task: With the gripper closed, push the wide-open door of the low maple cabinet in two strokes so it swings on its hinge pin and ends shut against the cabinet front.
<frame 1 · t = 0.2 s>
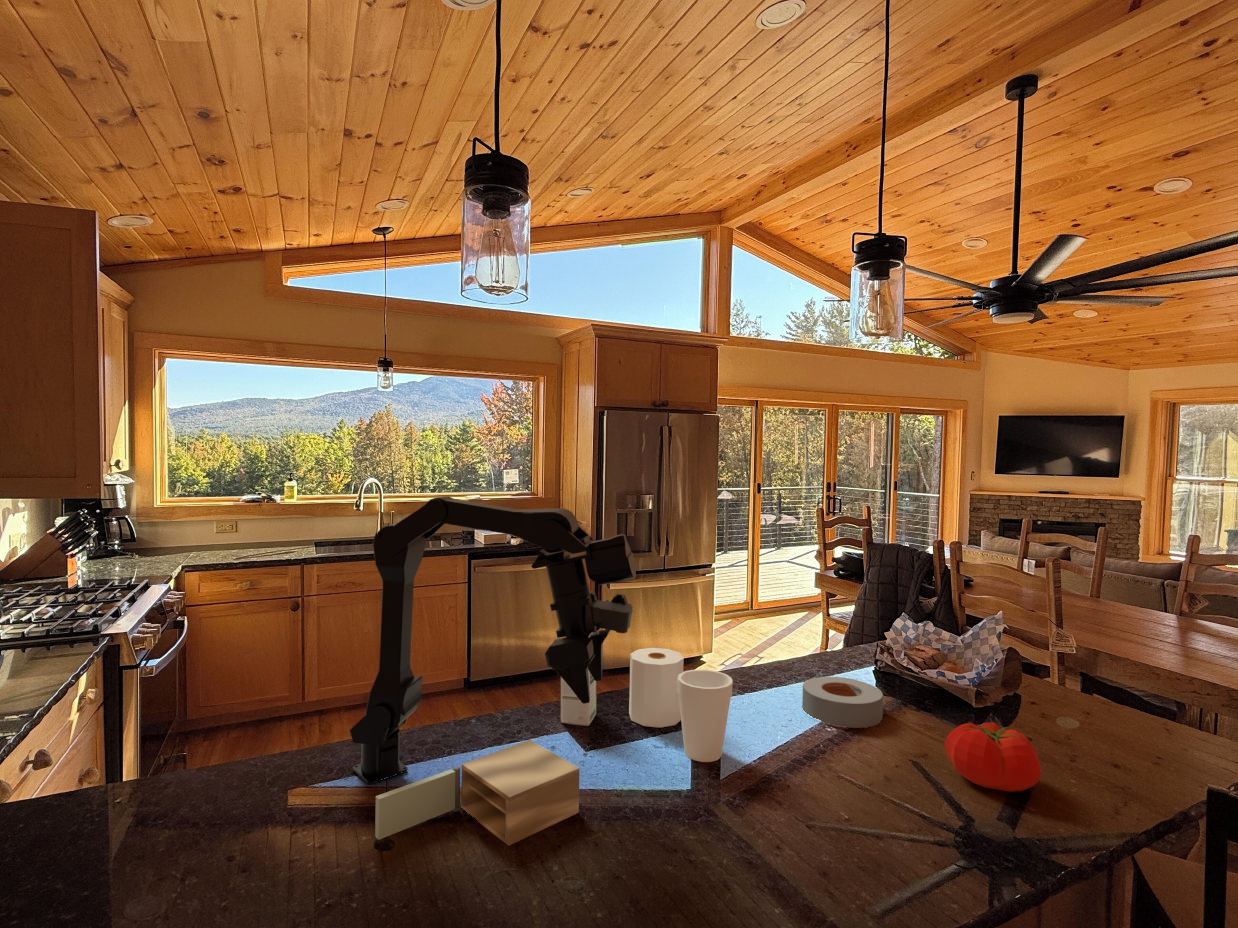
hand: (592, 691, 102), 15 cm above the kitchen island countertop, tool pointing down, fingers open, 9 cm apart
door: (420, 801, 93), point 3 cm above the kitchen island countertop, hinge at -90.0°
foam cup: (703, 754, 116), on the kitchen island countertop
tape roll: (841, 714, 135), on the kitchen island countertop
syrup box: (578, 719, 129), on the kitchen island countertop
toilet paper: (655, 717, 131), on the kitchen island countertop
cabinet: (519, 810, 97), on the kitchen island countertop
tomato: (992, 782, 108), on the kitchen island countertop
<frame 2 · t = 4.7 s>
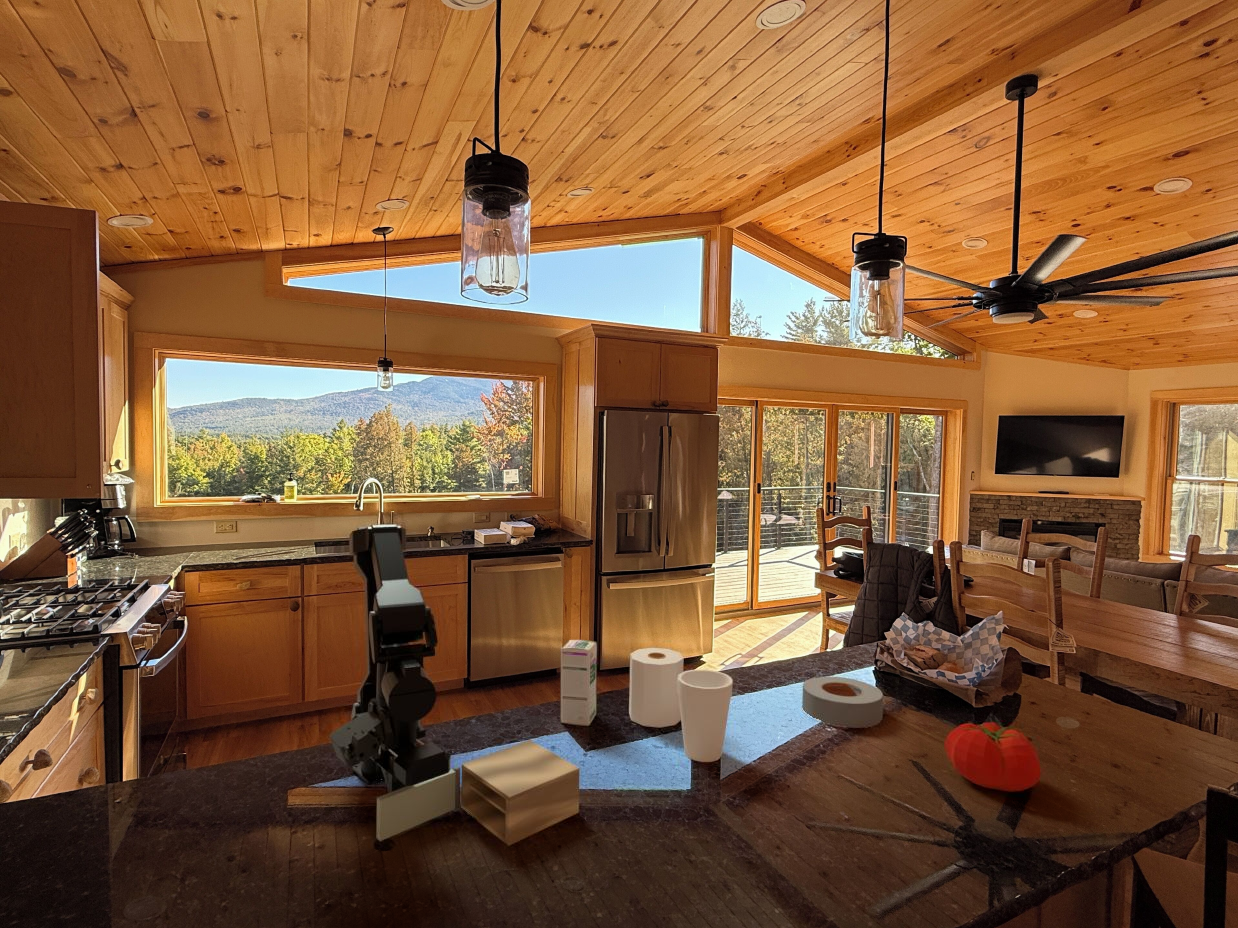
hand: (395, 804, 92), 3 cm above the kitchen island countertop, tool pointing down, fingers closed
door: (420, 801, 92), point 3 cm above the kitchen island countertop, hinge at -87.9°, touching gripper
everything else where it was.
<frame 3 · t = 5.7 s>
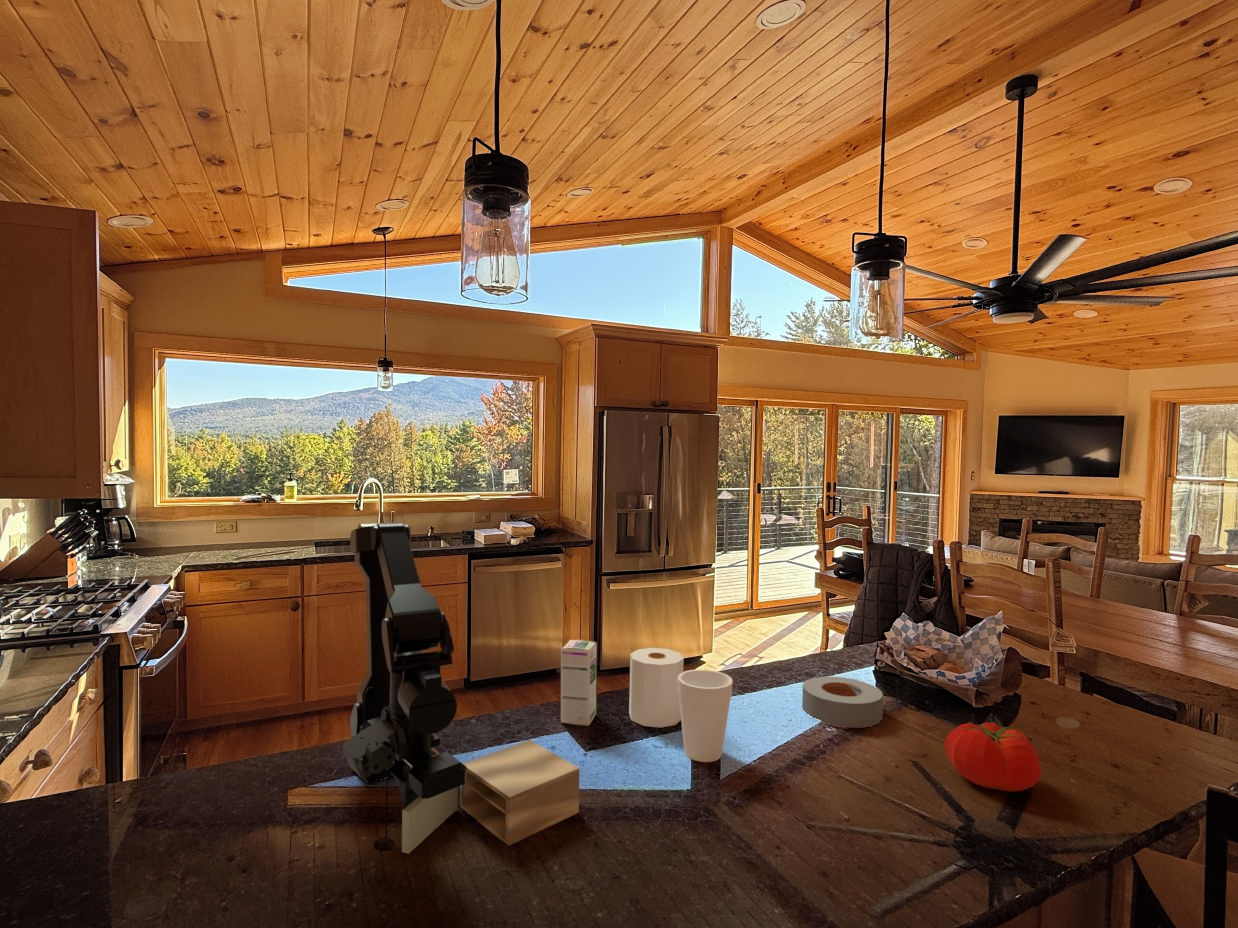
hand: (409, 812, 90), 3 cm above the kitchen island countertop, tool pointing down, fingers closed
door: (433, 807, 91), point 3 cm above the kitchen island countertop, hinge at -62.5°, touching gripper
everything else where it was.
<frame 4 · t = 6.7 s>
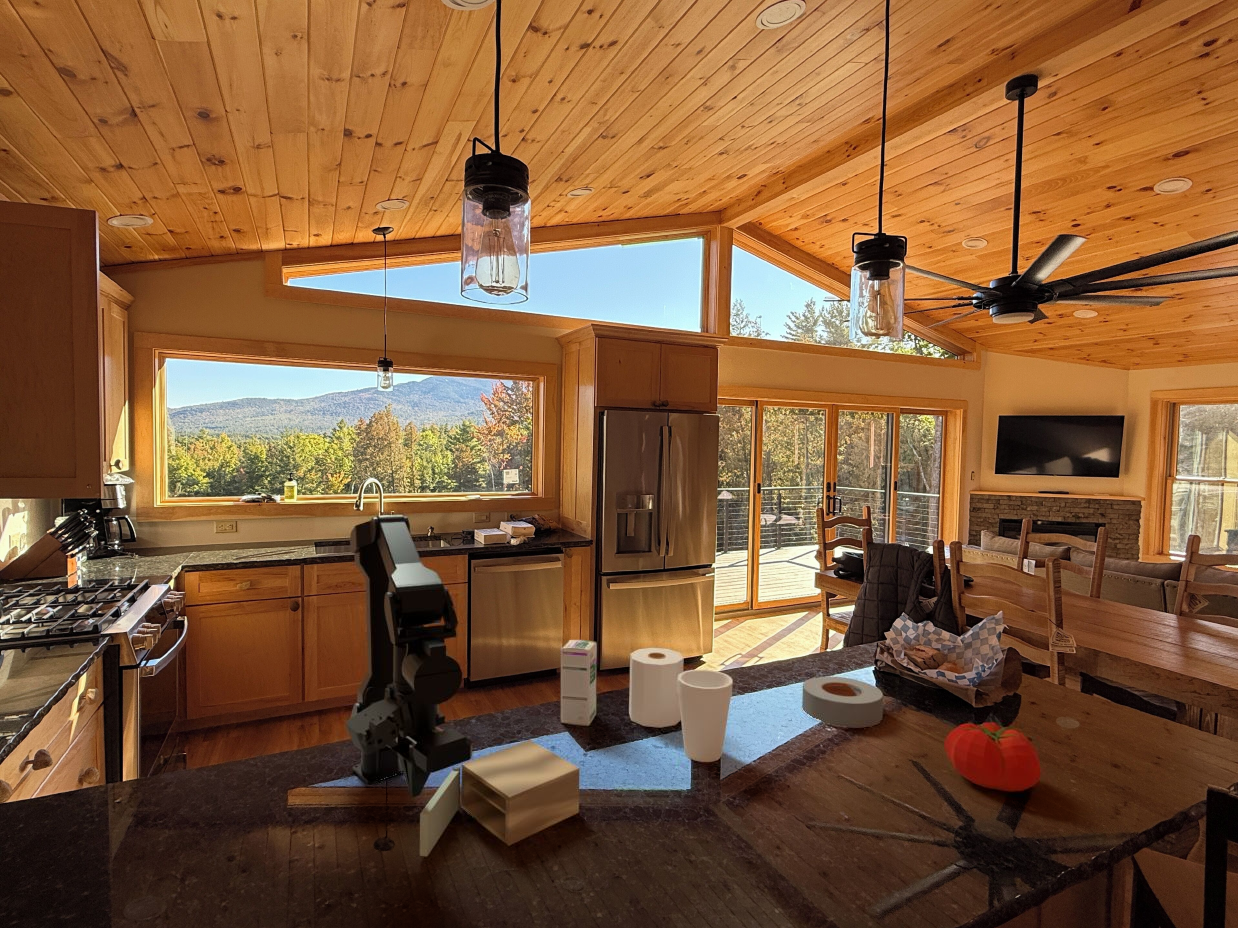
hand: (414, 794, 88), 7 cm above the kitchen island countertop, tool pointing down, fingers closed
door: (441, 808, 91), point 3 cm above the kitchen island countertop, hinge at -50.0°
everything else where it was.
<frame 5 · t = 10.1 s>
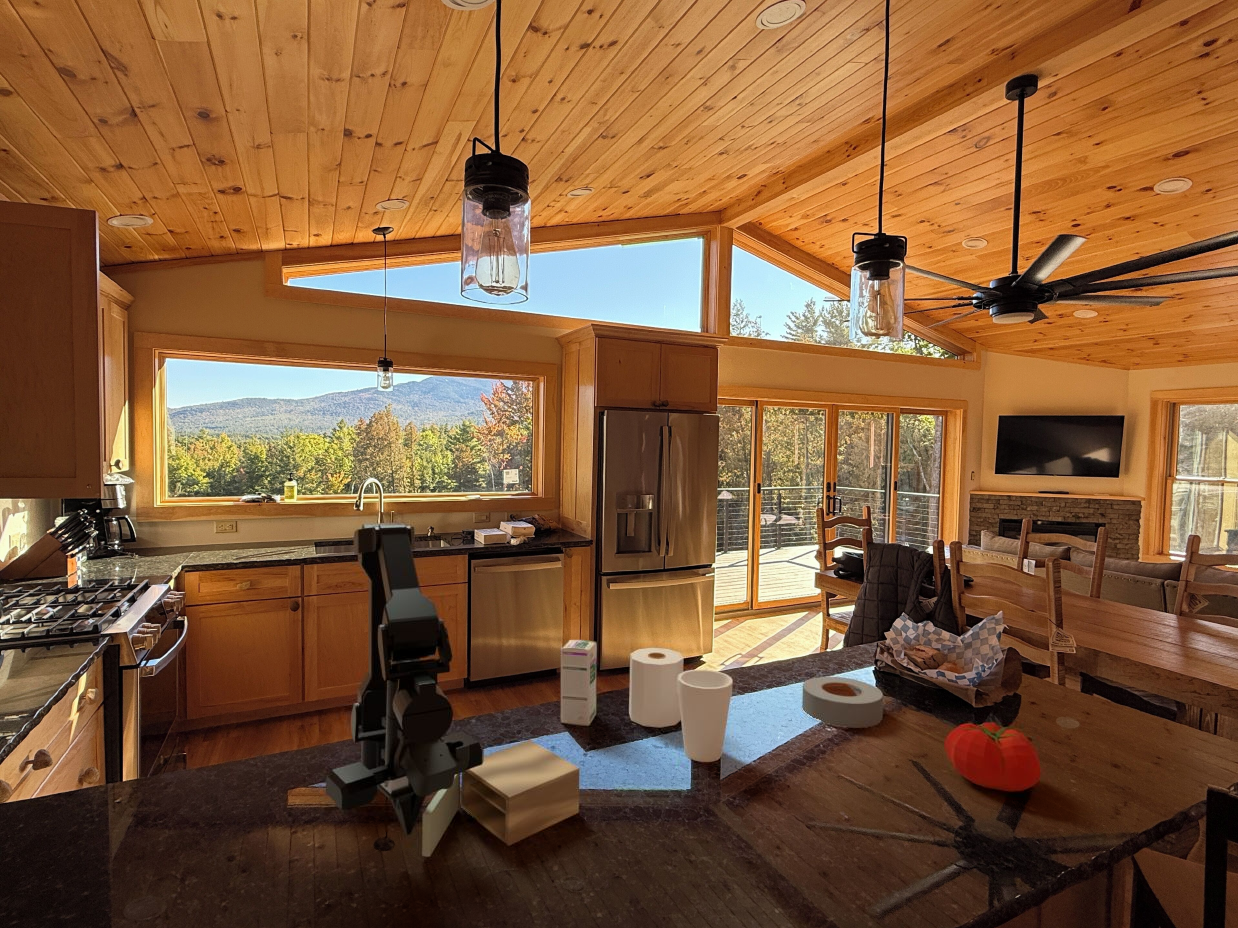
hand: (407, 833, 85), 3 cm above the kitchen island countertop, tool pointing down, fingers closed
door: (442, 808, 91), point 3 cm above the kitchen island countertop, hinge at -48.4°, touching gripper
everything else where it was.
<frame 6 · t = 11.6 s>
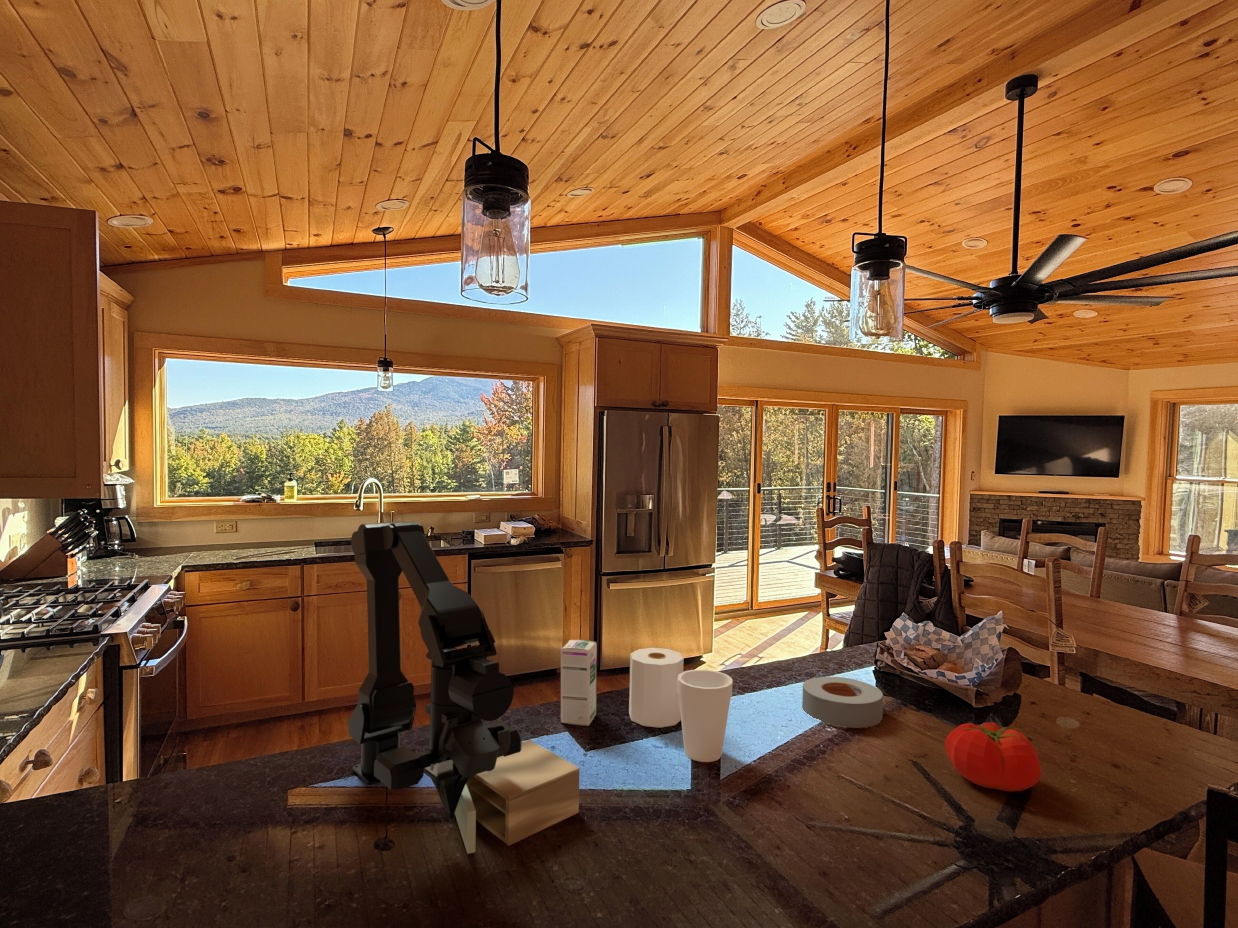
hand: (450, 817, 88), 3 cm above the kitchen island countertop, tool pointing down, fingers closed
door: (463, 807, 91), point 3 cm above the kitchen island countertop, hinge at -20.7°, touching gripper
everything else where it was.
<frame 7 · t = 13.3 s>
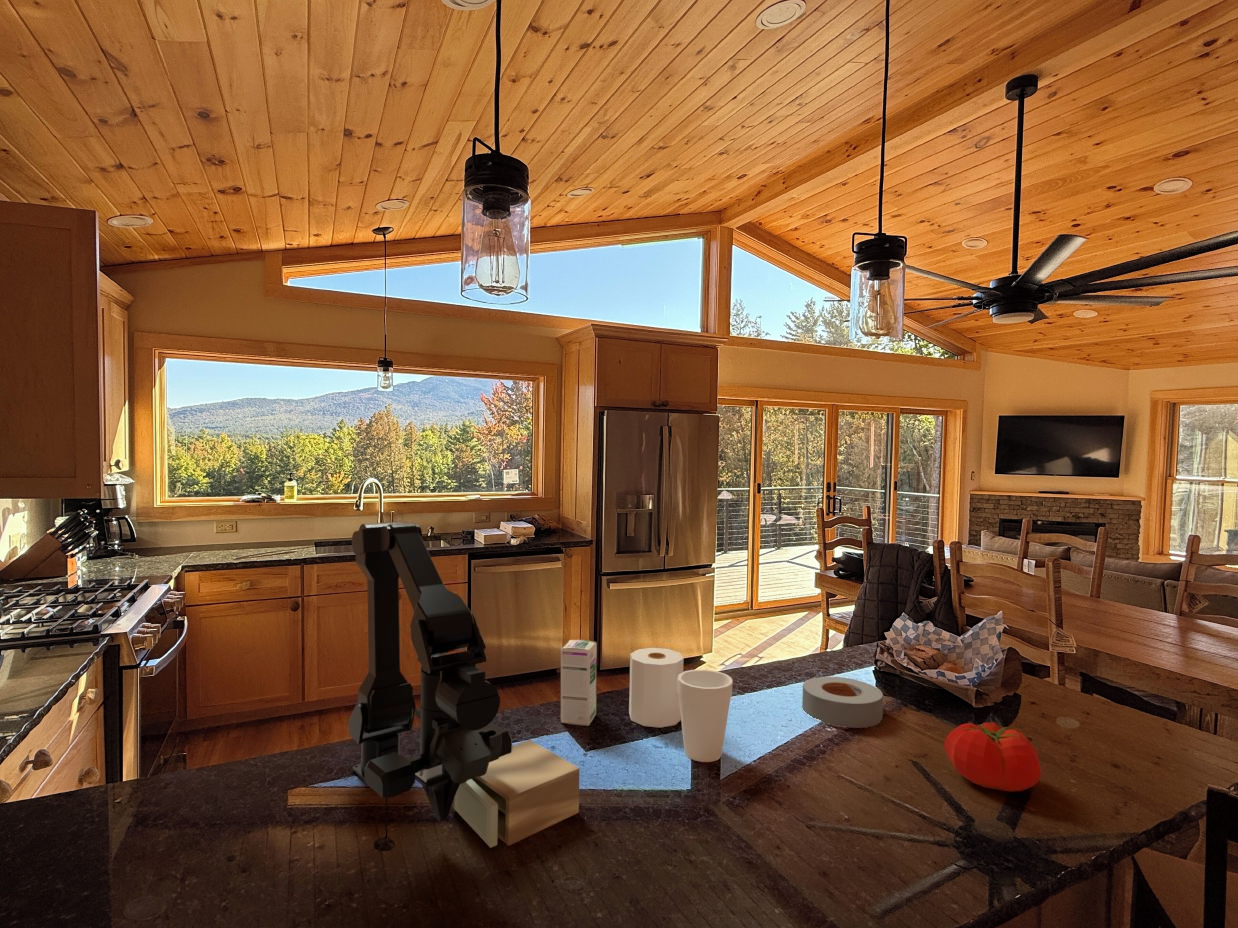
hand: (441, 819, 89), 3 cm above the kitchen island countertop, tool pointing down, fingers closed
door: (473, 804, 92), point 3 cm above the kitchen island countertop, hinge at -6.1°
everything else where it was.
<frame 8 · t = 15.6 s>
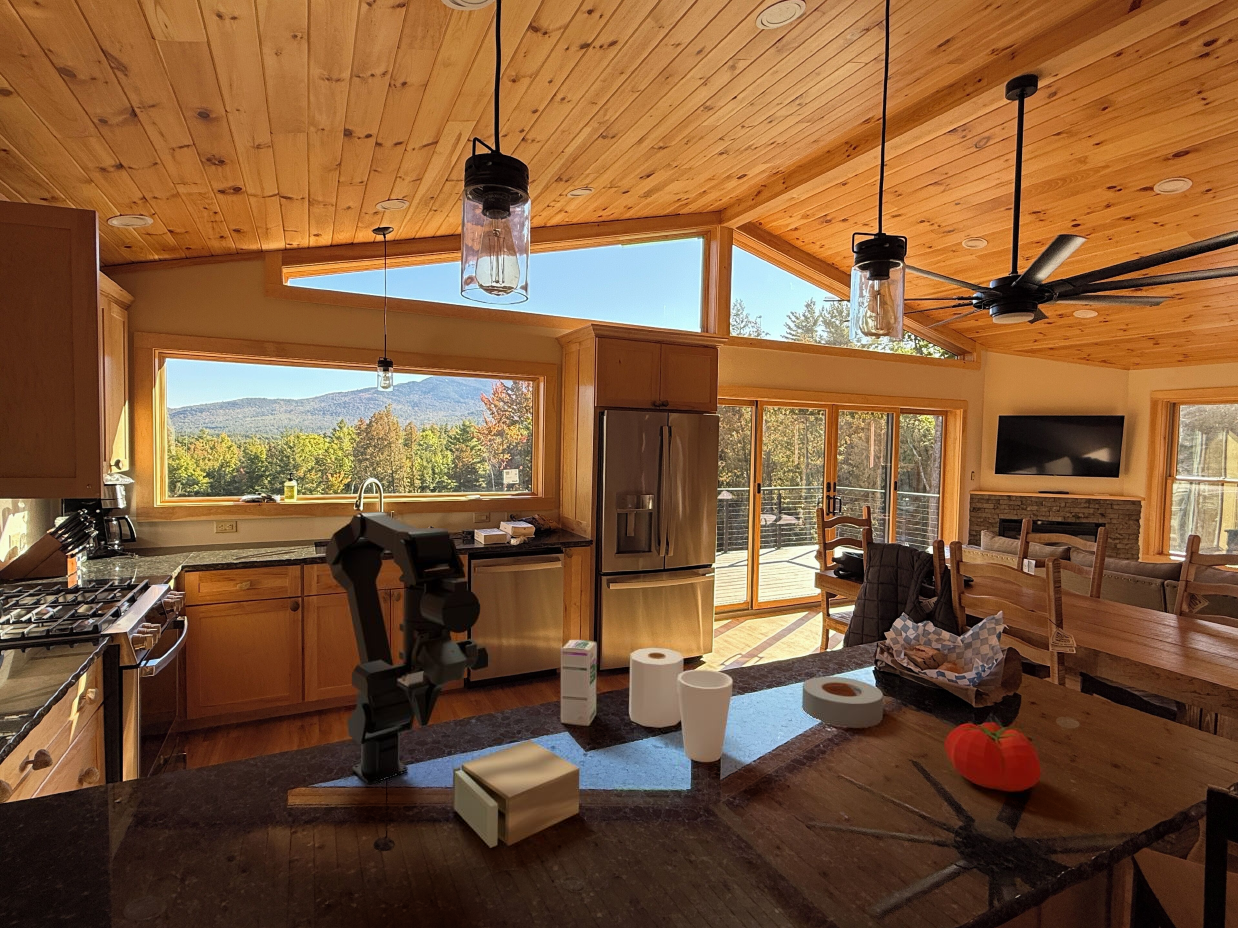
hand: (423, 724, 97), 12 cm above the kitchen island countertop, tool pointing down, fingers closed
nothing on the kitchen island countertop moved.
at the end: door at -6° (first picture: -90°); the gripper is holding nothing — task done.
